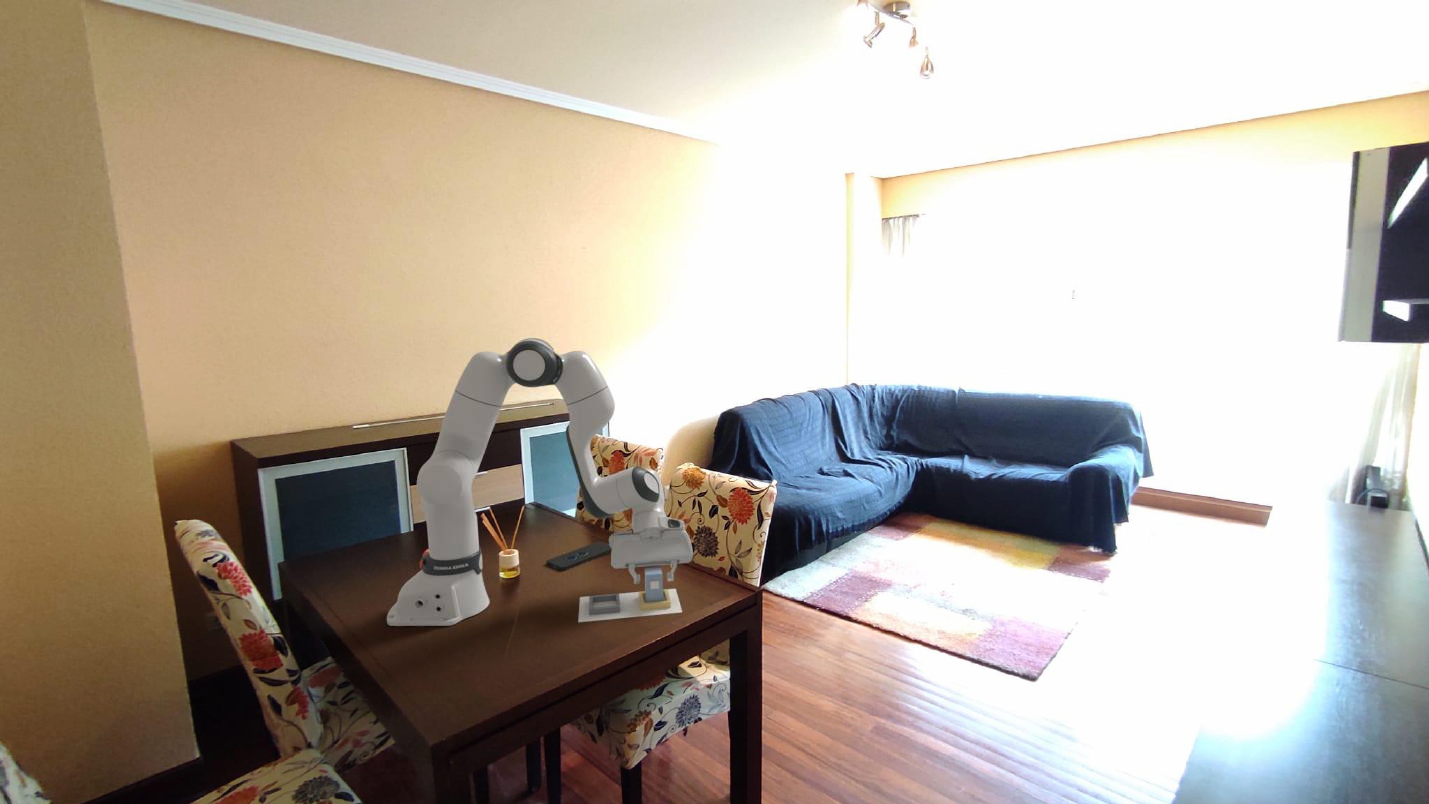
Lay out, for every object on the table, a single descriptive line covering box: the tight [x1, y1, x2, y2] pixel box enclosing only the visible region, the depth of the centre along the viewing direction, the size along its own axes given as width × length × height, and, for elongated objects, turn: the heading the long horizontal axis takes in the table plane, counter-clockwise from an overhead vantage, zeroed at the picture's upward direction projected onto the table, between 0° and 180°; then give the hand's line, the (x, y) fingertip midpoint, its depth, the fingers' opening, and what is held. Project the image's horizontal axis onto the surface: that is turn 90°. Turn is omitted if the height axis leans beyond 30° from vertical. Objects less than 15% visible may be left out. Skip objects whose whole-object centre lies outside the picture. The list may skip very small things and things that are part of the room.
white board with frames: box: [577, 588, 683, 623], centre depth 150 cm, size 24×13×2 cm, turn 101°
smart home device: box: [545, 540, 612, 572], centre depth 182 cm, size 8×2×20 cm
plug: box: [644, 566, 664, 603], centre depth 150 cm, size 4×5×8 cm
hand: (654, 581), depth 150 cm, fingers open, 7 cm apart
